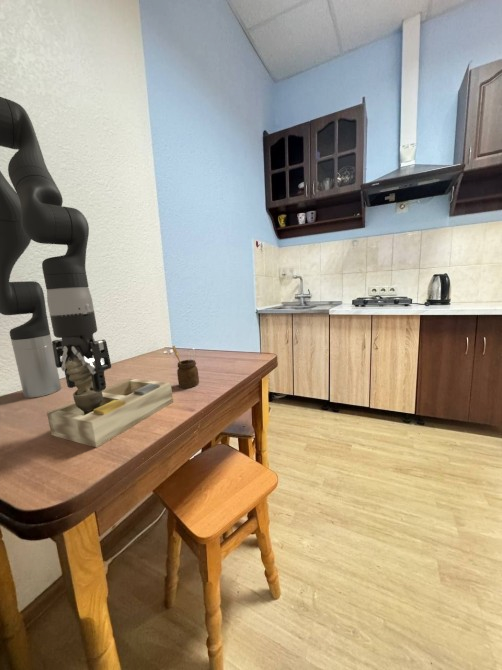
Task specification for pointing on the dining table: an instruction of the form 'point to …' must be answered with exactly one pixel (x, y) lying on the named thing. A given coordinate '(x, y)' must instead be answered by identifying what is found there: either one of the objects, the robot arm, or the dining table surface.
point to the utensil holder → (187, 371)
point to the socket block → (110, 412)
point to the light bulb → (83, 386)
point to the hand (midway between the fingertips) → (86, 388)
